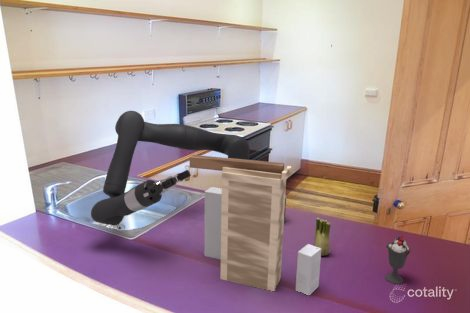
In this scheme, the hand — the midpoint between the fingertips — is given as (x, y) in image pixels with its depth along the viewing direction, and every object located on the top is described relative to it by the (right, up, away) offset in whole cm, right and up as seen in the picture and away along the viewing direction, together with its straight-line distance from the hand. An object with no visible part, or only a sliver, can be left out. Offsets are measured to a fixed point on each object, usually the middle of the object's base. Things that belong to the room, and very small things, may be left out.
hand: (182, 176), depth 104 cm
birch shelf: (+20, -30, -1) cm, 36 cm away
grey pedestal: (+10, -26, +12) cm, 31 cm away
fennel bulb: (+44, -27, +14) cm, 54 cm away
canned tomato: (+32, -21, +39) cm, 54 cm away
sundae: (+62, -30, 0) cm, 69 cm away
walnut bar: (+16, +2, -7) cm, 17 cm away
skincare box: (+36, -31, -5) cm, 48 cm away
